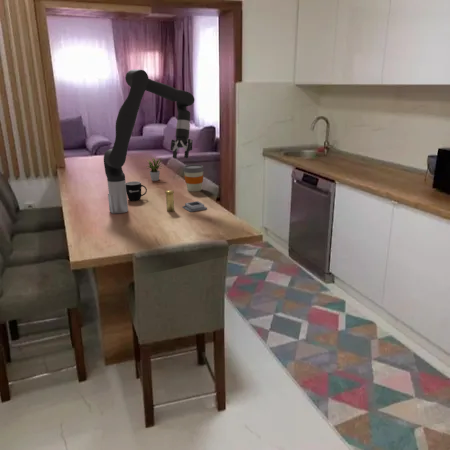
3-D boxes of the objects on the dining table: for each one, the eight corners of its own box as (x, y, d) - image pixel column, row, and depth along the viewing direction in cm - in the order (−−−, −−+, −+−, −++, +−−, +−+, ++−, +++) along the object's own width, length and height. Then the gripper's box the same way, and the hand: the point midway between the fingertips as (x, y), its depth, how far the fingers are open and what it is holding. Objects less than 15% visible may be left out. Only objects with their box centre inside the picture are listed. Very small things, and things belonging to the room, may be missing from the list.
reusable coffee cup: (201, 192, 271) (200, 168, 266) (182, 191, 273) (181, 168, 268) (206, 187, 282) (205, 164, 277) (187, 187, 285) (186, 164, 280)
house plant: (169, 177, 312) (167, 155, 307) (164, 182, 299) (163, 158, 294) (149, 177, 313) (148, 155, 308) (144, 182, 300) (142, 158, 295)
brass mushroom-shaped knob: (168, 212, 231) (167, 192, 228) (165, 210, 235) (163, 190, 232) (176, 211, 234) (175, 191, 230) (172, 209, 237) (171, 189, 234)
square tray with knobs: (190, 212, 231) (190, 207, 231) (182, 207, 240) (182, 203, 239) (207, 209, 236) (206, 204, 235) (198, 204, 244) (198, 200, 243)
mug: (127, 202, 252) (125, 185, 248) (126, 198, 260) (125, 181, 257) (148, 200, 254) (146, 183, 251) (146, 196, 263) (145, 180, 259)
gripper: (168, 128, 244) (166, 157, 244) (187, 127, 235) (185, 156, 236) (178, 131, 250) (175, 159, 250) (196, 130, 242) (194, 159, 242)
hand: (180, 158), depth 243 cm, fingers open, 8 cm apart
